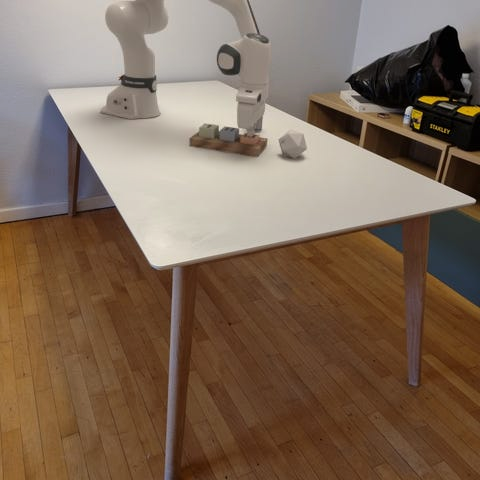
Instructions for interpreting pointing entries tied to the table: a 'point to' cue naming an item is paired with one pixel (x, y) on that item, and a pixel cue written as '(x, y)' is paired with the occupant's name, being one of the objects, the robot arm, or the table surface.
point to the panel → (229, 145)
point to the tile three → (250, 139)
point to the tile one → (209, 131)
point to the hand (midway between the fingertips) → (250, 135)
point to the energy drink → (259, 125)
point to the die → (292, 144)
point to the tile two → (229, 134)
